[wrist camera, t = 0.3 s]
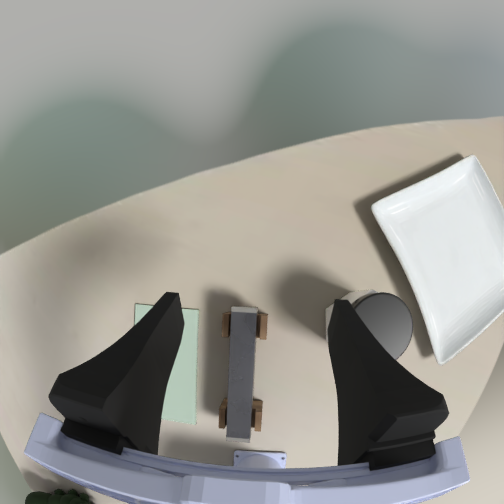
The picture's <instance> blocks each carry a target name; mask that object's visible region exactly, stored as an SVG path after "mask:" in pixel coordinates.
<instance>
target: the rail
mask: <svg viewBox="0 0 504 504" xmlns="http://www.w3.org/2000/svg"><path fill="white" fill-rule="evenodd" d="M257 312H258V307H242V306H232V307H231V330H230V352H229V377H228V403H227V435H226V441H233V442H246V443H250V438H251V425H252V407H253V389H254V371H255V352H256V332H257Z"/></svg>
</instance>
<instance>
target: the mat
mask: <svg viewBox="0 0 504 504" xmlns="http://www.w3.org/2000/svg"><path fill="white" fill-rule="evenodd" d="M152 307H153V306H150V305H140V304H136V305H135V325H136V324H137V323H138V322H139V321H140V320H141V319H142V318H143V316H144V315H145V314H146V313H147V312H148V311H149V310H150V309H151V308H152ZM182 313H183V317H184V322H185V325H184V330H183V335H182V340H181V344H180V347H179V350H178V353H177V356H176V359H175V362H174V365H173V368H172V371H171V374H170V378H169V381H168V385H167V389H166V394H165V399H164V404H163V411H162V417H161V419H165V420H170V421H176V422H182V423H188V424H194V425H196V387H197V347H198V322H199V310H193V309H182Z"/></svg>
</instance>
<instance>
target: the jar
mask: <svg viewBox="0 0 504 504" xmlns="http://www.w3.org/2000/svg"><path fill="white" fill-rule="evenodd" d="M341 299H343V300H348V301H349V302H350V303H351V305H352V306H353V308H354V309H355V311H356V312H357V314H358V315H359V316H360V318H361V319H362V321H363V322H364V323H365V325H366V326H367V328H368V329H369V330H370V331H371V333H372V334H373V335H374V337H375V338H376V339H377V340H378V342H379V343H380V344H381V345H382V346H383V347H384V349H385V350H386V351H387V352H388V353H389V354H390V355H391V356H392V357H393V358H394V359H395V360H397V359H398V358H399V357H400V356H401V355H402V354H403V353H404V351H405V350H406V348H407V347H408V345H409V343H410V340H411V337H412V332H413V321H412V316H411V313H410V310H409V308H408V307H407V305H406V304H405V303H404V302H403V301H402V300H401V299H400V298H399V297H397V296H395V295H393V294H390V293H384V292H380V293H378V292H376V291H375V290H373V289H371V290H363V291H355V292H350V293H349V294H347V295H346V296H344V297H343V298H341ZM333 306H334V304H332V305H331V306H329V307H328V308H326V341H328V332H327V329H328V326H329V322H330V318H331V314H332V310H333Z"/></svg>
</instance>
